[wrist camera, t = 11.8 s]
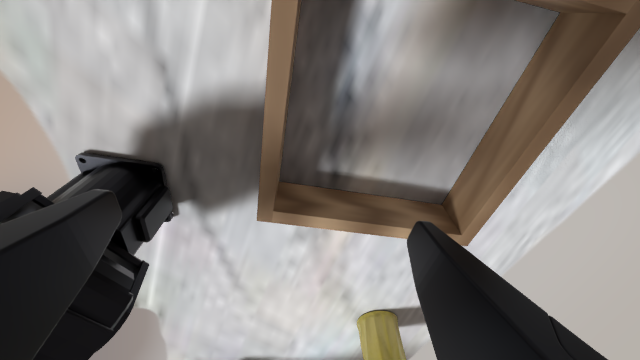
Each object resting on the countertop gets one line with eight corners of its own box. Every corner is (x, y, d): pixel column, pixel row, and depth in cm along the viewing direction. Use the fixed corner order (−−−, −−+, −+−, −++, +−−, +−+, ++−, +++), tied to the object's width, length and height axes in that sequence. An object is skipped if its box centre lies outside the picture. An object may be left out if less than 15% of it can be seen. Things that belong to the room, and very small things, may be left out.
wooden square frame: (264, 190, 23) (256, 220, 20) (288, -94, 13) (280, -129, 9) (447, 215, 25) (467, 246, 22) (591, -7, 15) (670, -11, 12)
